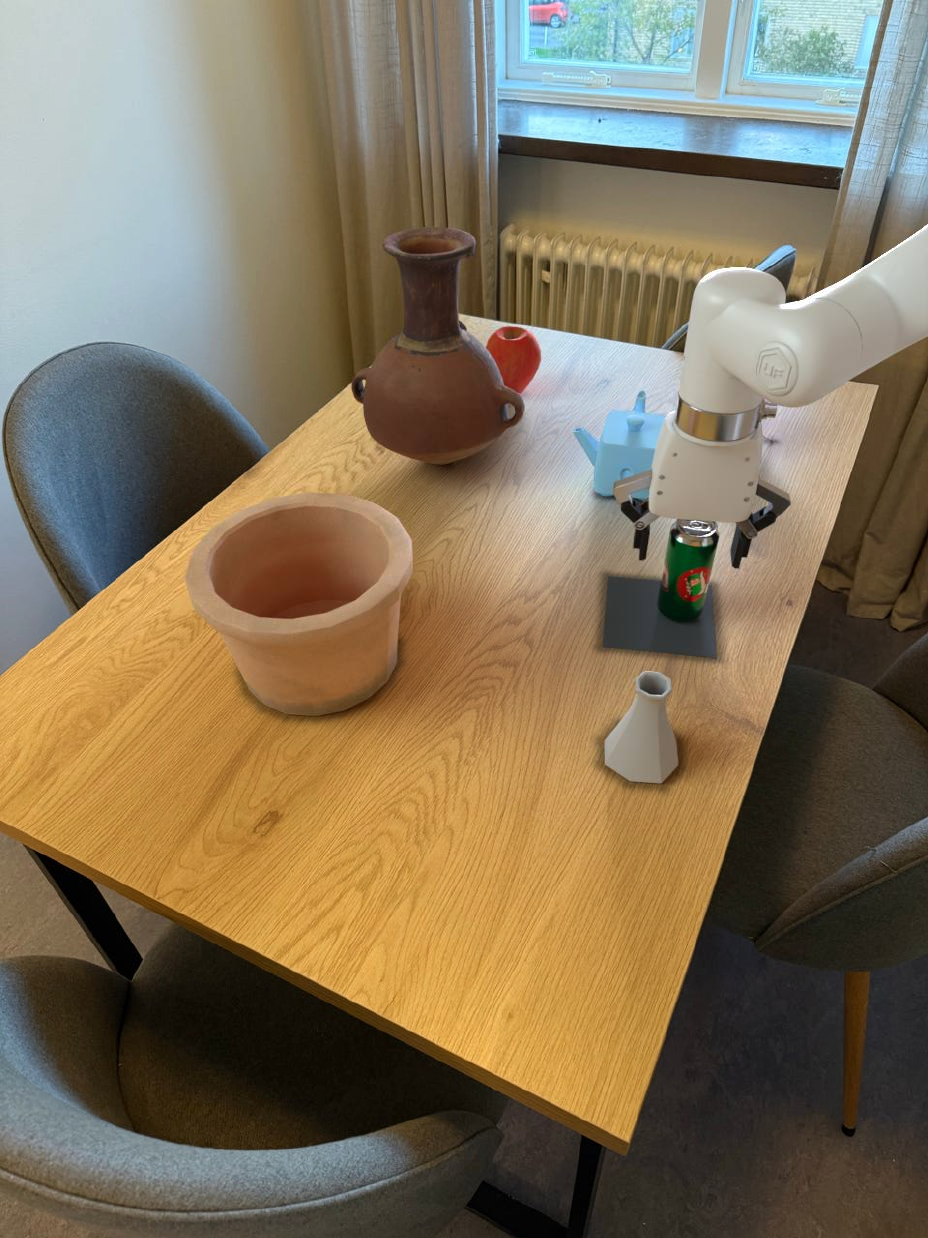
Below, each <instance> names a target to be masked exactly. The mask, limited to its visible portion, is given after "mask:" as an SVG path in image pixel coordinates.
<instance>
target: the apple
mask: <svg viewBox="0 0 928 1238" xmlns="http://www.w3.org/2000/svg"><path fill="white" fill-rule="evenodd" d="M485 348H486V349H487V350H488V351H489V353H490V354H491V355H492V357H493V359H494V360H495V363H496V365H497V367H498V369H499V372H500V374H501V377H502V379H503V383H504V386H506V387H508V388H511V389H513V390H514V391H516V392H517V393H519V395H521V394H522V393H523V392H524V391H525V390H526V388H527V387H528V386H529V384H530V383H531V382H532V381H533V379H534V377H535V376H536V374H537V372H538V370H539V369H540V366H541V362H542V349H541V347H540V344H539V341H538V339H537V338H536V336H535V335H534V334H533V333H532V332H531V331H529V330H528V329H526V328H523V327H521V326H512V325H507V326H501V327H499V328H498V329H496V330H495V331H494V332H492V333H491V335H490V337H489V338H488V340H487V343H486V347H485Z"/></svg>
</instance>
